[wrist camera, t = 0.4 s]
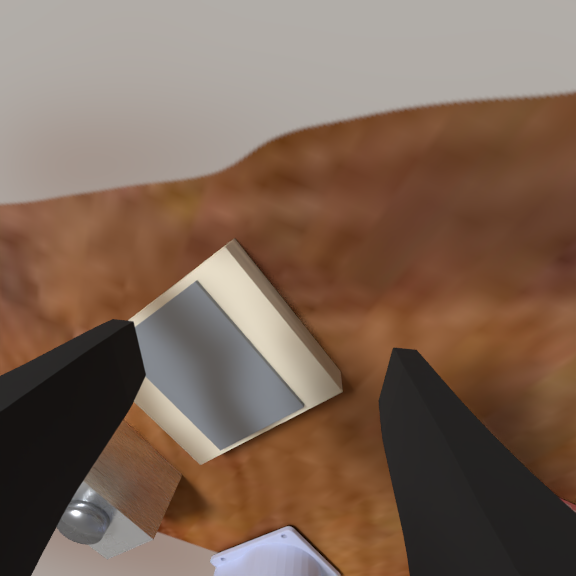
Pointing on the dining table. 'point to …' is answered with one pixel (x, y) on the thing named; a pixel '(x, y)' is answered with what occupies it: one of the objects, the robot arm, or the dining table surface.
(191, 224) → the dining table surface
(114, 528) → the housing
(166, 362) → the stand
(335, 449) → the dining table surface
